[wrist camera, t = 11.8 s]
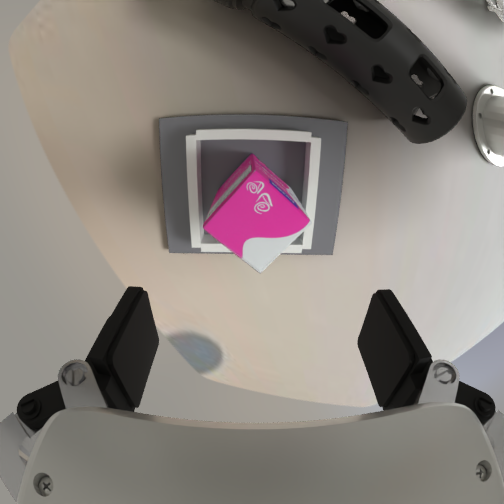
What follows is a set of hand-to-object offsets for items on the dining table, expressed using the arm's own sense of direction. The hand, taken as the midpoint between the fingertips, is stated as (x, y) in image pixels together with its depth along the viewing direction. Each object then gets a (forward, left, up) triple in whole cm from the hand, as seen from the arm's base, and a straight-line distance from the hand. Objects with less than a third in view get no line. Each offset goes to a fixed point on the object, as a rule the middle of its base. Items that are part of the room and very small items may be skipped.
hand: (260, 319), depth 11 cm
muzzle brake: (-7, -18, -22) cm, 30 cm away
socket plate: (0, 0, -22) cm, 22 cm away
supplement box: (0, 0, -21) cm, 21 cm away
